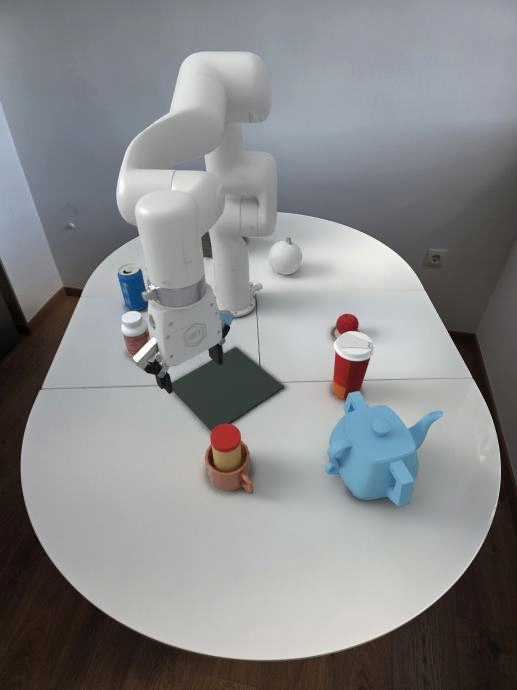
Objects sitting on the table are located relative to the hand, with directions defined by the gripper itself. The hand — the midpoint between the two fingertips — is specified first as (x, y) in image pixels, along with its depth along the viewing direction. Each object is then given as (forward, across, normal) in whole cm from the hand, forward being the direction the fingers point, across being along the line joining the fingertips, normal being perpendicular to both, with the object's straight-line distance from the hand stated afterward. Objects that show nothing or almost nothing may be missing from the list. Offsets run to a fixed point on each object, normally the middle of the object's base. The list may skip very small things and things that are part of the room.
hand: (192, 373), depth 70 cm
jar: (+23, +2, -6) cm, 24 cm away
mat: (+24, +15, +12) cm, 31 cm away
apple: (+24, +50, +7) cm, 55 cm away
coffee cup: (+24, +35, -6) cm, 43 cm away
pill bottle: (+24, +6, +36) cm, 44 cm away
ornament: (+24, +59, +40) cm, 75 cm away
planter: (+23, +54, +70) cm, 91 cm away
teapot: (+24, +24, -24) cm, 41 cm away
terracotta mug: (+24, +2, -7) cm, 25 cm away
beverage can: (+24, +15, +54) cm, 61 cm away
